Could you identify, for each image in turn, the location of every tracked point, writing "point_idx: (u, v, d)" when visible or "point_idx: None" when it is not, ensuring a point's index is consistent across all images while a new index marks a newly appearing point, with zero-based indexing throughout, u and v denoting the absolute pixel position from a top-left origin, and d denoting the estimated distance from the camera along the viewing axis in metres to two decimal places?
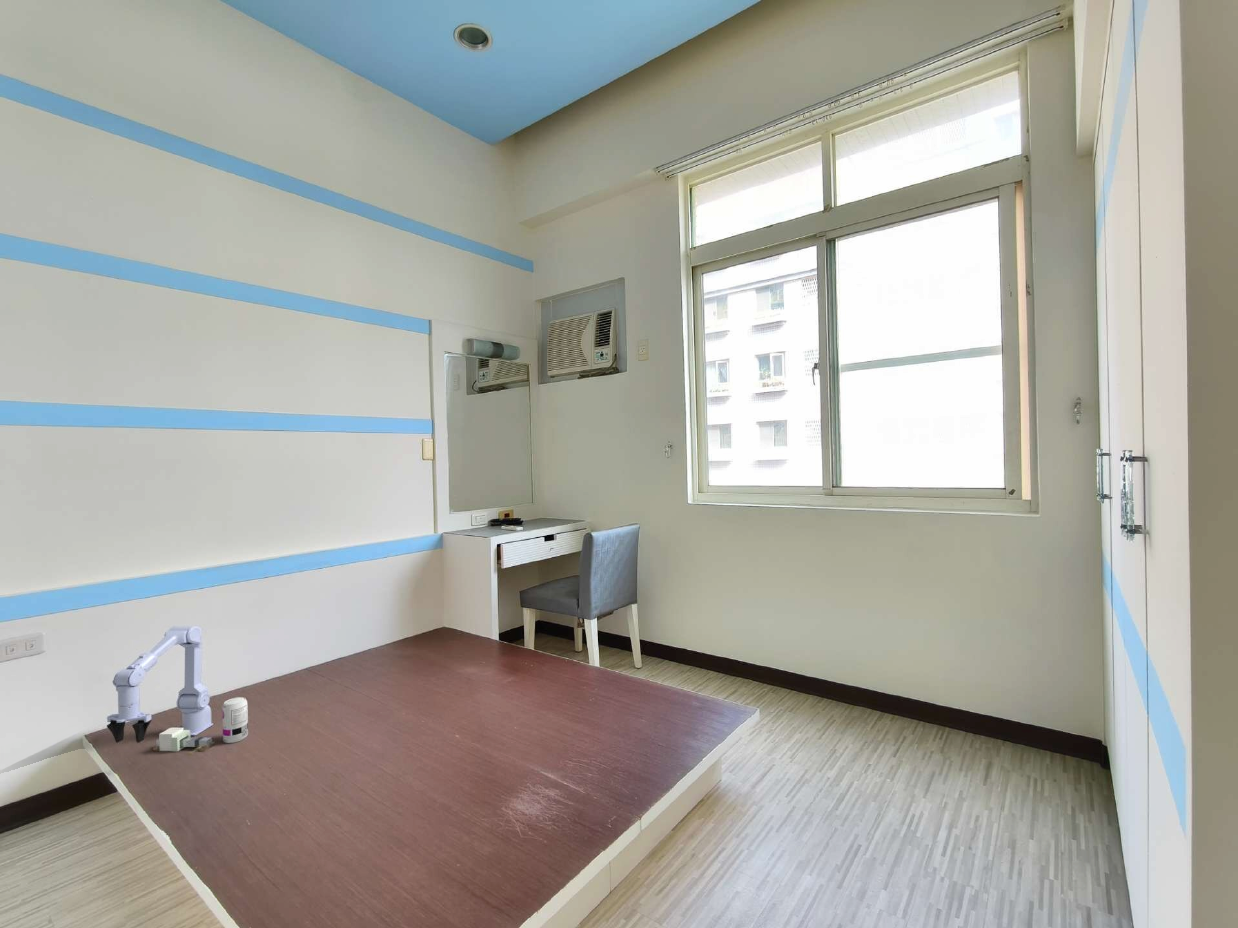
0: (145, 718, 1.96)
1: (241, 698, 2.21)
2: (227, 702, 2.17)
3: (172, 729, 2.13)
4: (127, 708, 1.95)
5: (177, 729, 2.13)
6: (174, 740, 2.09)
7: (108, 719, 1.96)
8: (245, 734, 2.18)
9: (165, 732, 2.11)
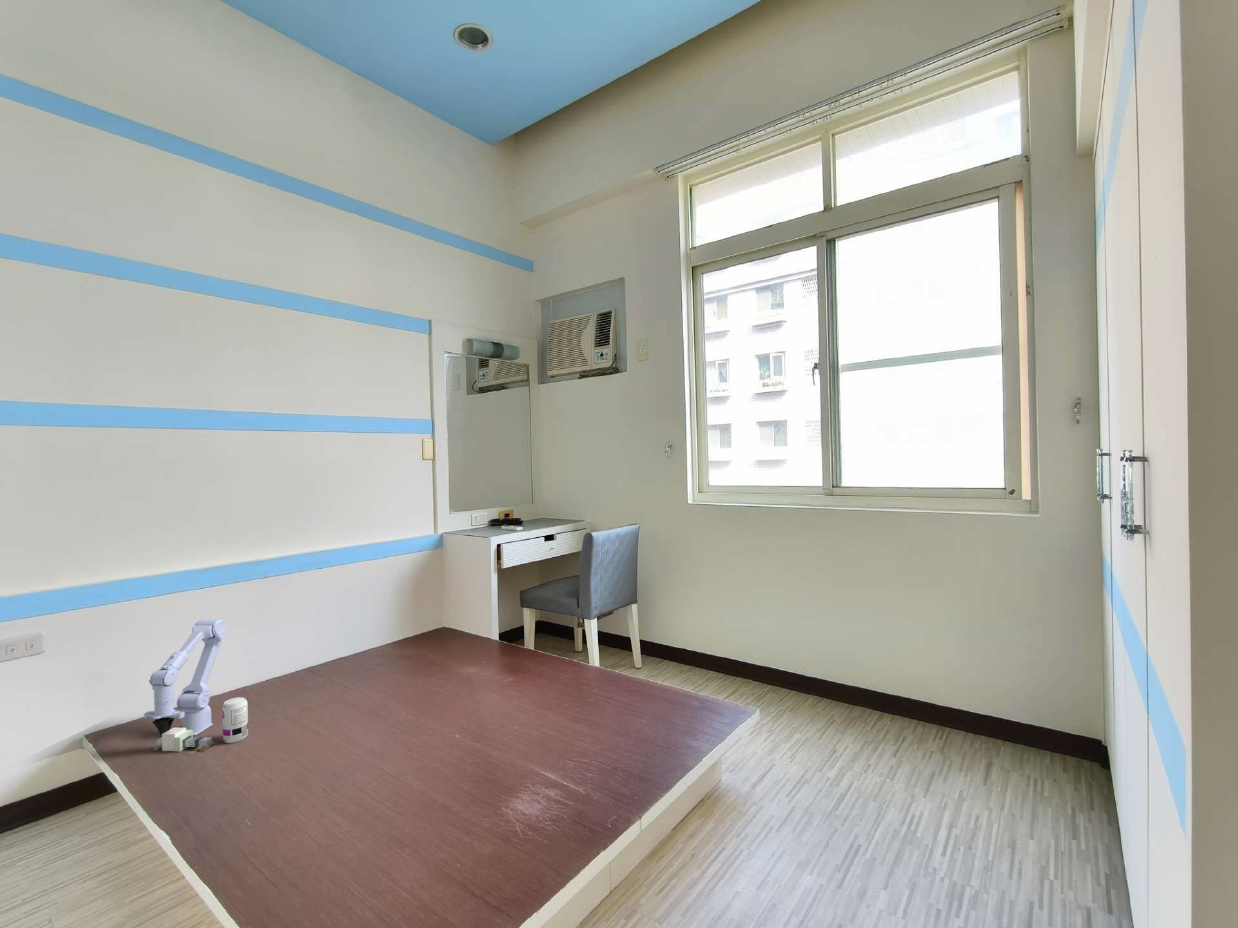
0: (179, 715, 2.11)
1: (241, 698, 2.21)
2: (227, 702, 2.17)
3: (175, 729, 2.13)
4: (162, 706, 2.10)
5: (180, 729, 2.13)
6: (177, 740, 2.09)
7: (145, 716, 2.11)
8: (245, 734, 2.18)
9: (168, 732, 2.11)
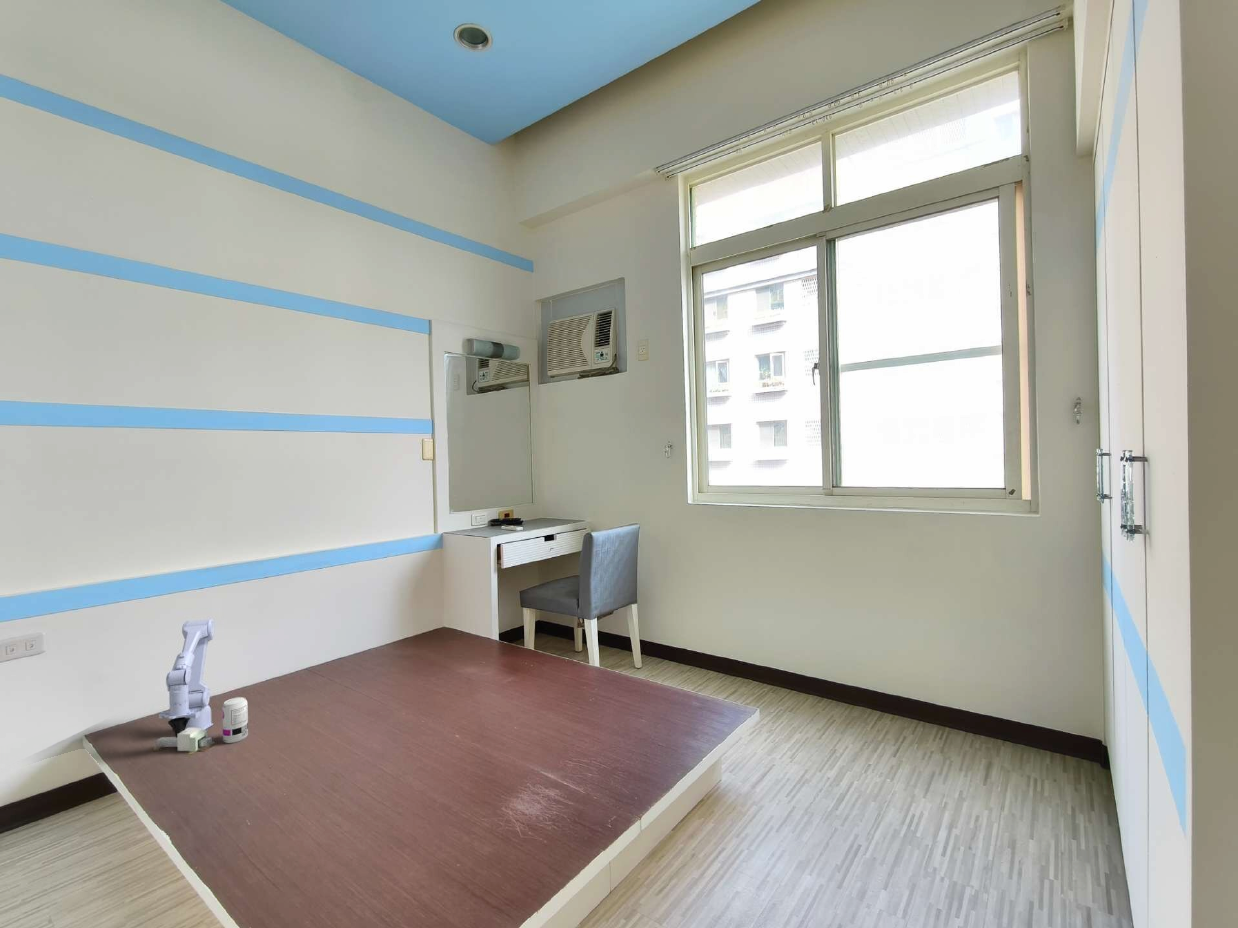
0: (194, 715, 2.11)
1: (241, 698, 2.21)
2: (227, 702, 2.17)
3: (190, 729, 2.13)
4: (178, 706, 2.09)
5: (195, 729, 2.13)
6: (192, 740, 2.09)
7: (160, 716, 2.11)
8: (245, 734, 2.18)
9: (183, 732, 2.10)
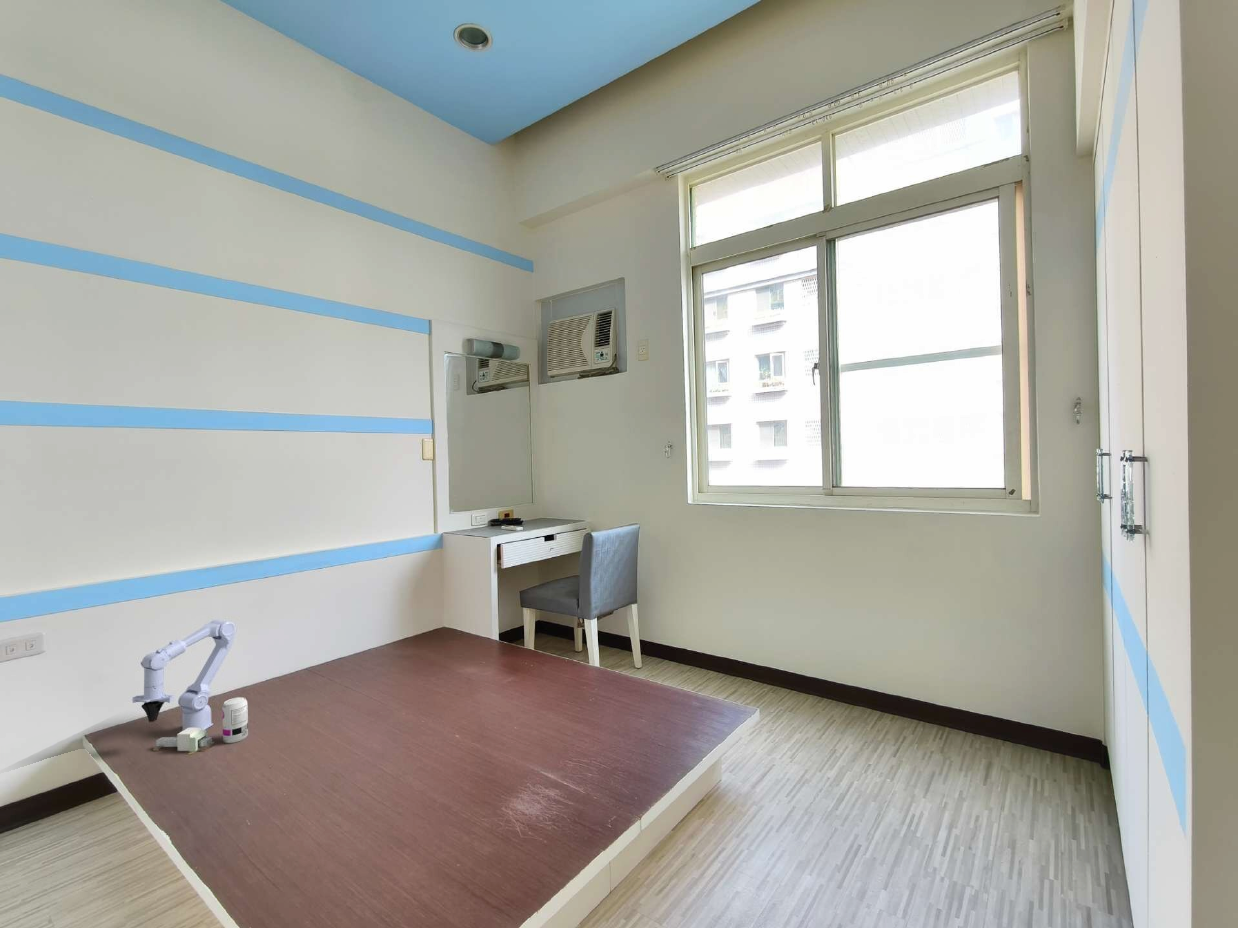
0: (169, 699, 2.11)
1: (241, 698, 2.21)
2: (227, 702, 2.17)
3: (190, 729, 2.13)
4: (152, 689, 2.10)
5: (195, 729, 2.13)
6: (192, 740, 2.09)
7: (133, 700, 2.11)
8: (245, 734, 2.18)
9: (183, 732, 2.10)
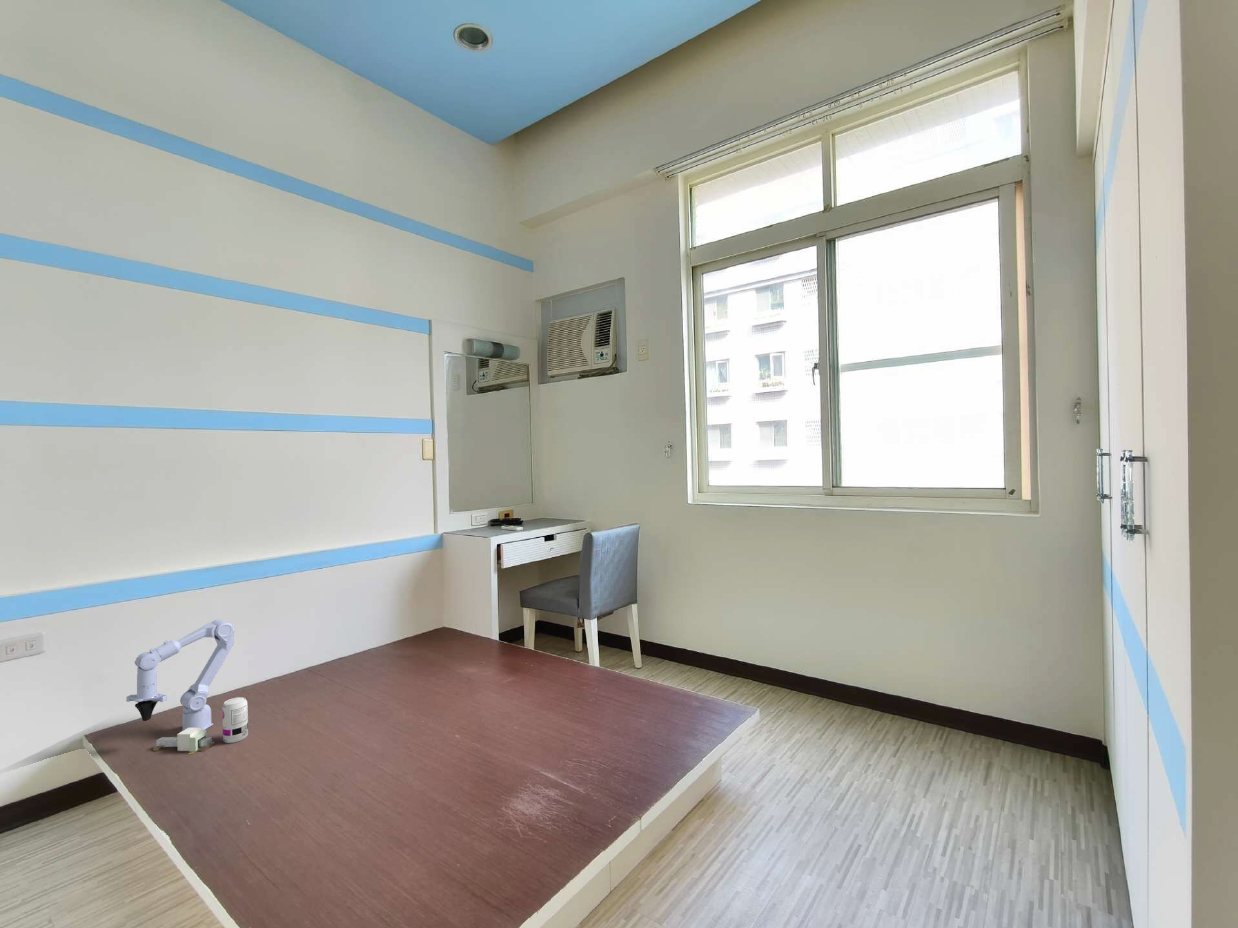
0: (161, 698, 2.12)
1: (241, 698, 2.21)
2: (227, 702, 2.17)
3: (190, 729, 2.13)
4: (145, 689, 2.11)
5: (195, 729, 2.13)
6: (192, 740, 2.09)
7: (127, 699, 2.12)
8: (245, 734, 2.18)
9: (183, 732, 2.10)
